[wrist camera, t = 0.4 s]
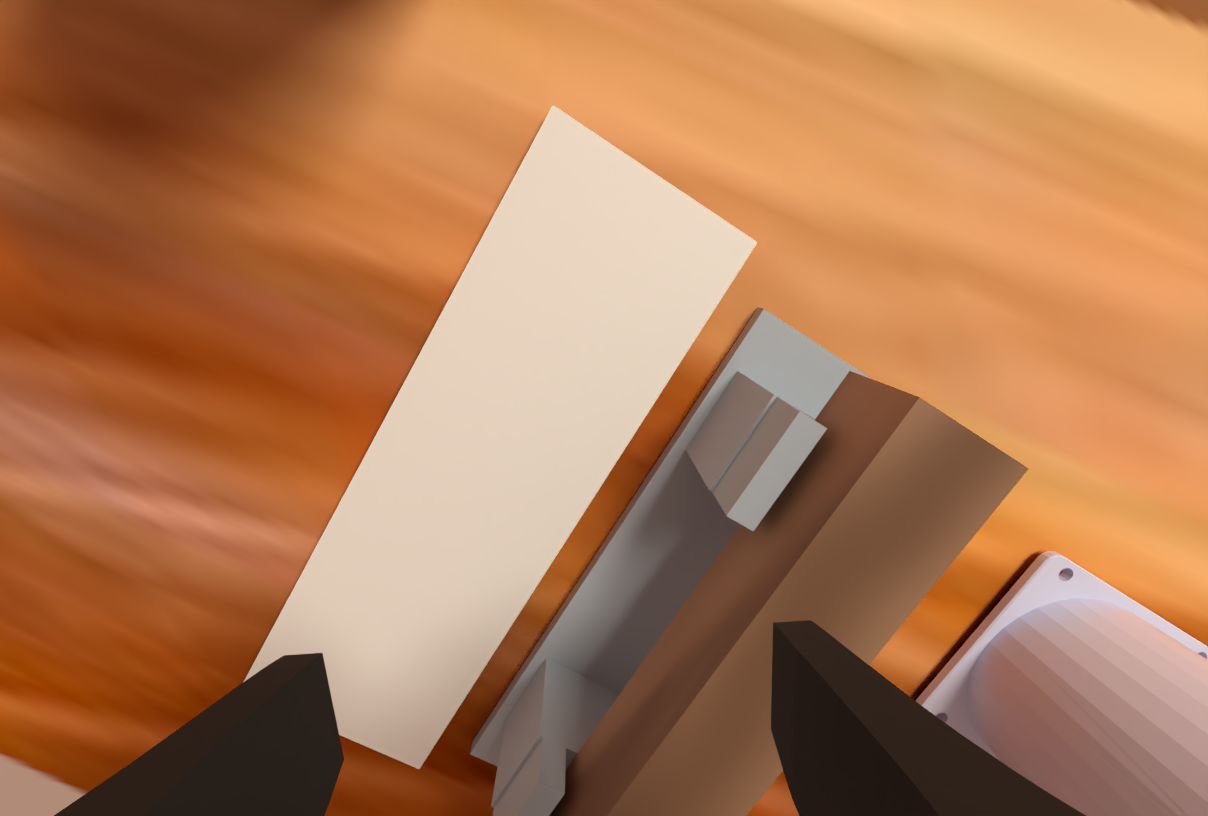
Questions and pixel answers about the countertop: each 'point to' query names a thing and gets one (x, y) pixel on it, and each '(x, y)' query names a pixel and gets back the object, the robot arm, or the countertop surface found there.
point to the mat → (503, 432)
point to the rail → (791, 603)
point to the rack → (659, 554)
